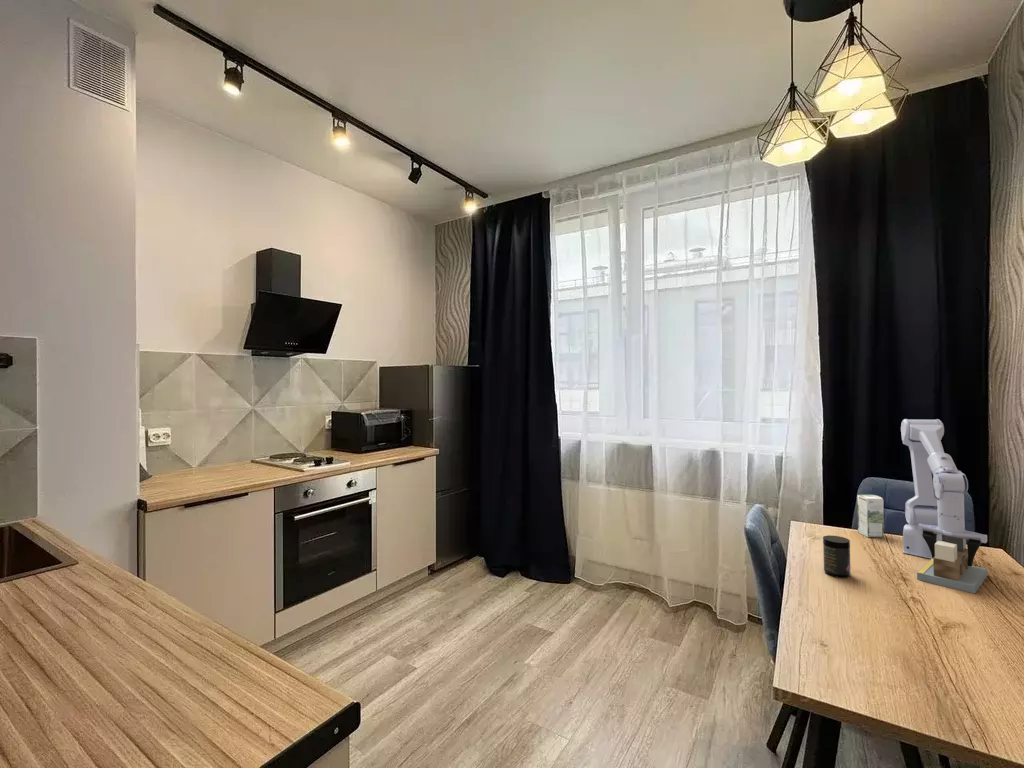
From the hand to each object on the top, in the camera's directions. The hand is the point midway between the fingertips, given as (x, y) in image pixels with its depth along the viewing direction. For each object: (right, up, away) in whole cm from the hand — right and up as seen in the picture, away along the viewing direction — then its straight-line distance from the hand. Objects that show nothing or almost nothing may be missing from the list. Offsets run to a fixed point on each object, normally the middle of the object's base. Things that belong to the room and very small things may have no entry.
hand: (952, 561), depth 137 cm
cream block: (-5, +2, -4) cm, 7 cm away
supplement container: (-30, -6, +5) cm, 31 cm away
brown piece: (0, -3, 0) cm, 3 cm away
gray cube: (+5, +2, +4) cm, 6 cm away
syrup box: (+5, -5, +38) cm, 38 cm away
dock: (0, -5, 0) cm, 5 cm away
